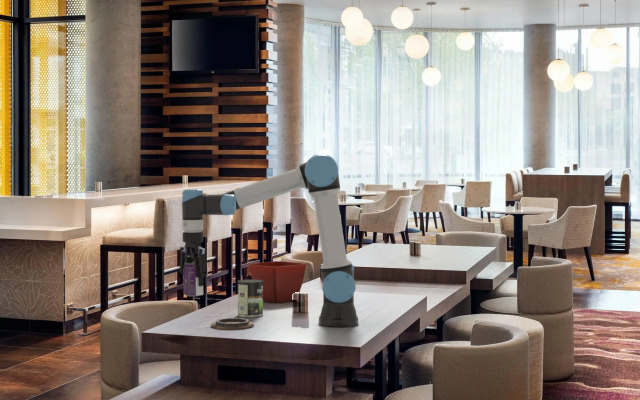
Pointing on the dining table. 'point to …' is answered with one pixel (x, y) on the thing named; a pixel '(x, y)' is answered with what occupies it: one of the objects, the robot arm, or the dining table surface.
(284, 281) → the plant pot
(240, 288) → the coffee can
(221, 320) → the coaster
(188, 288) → the beverage can
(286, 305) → the dining table surface
